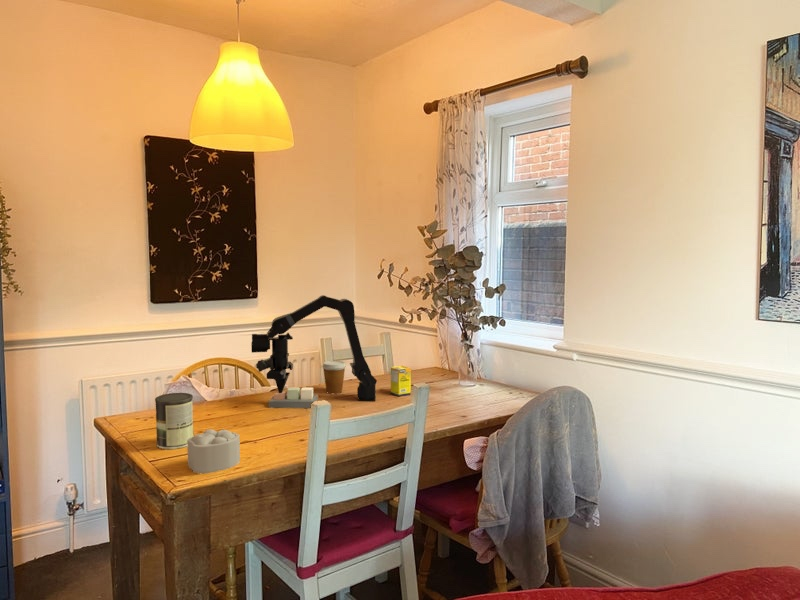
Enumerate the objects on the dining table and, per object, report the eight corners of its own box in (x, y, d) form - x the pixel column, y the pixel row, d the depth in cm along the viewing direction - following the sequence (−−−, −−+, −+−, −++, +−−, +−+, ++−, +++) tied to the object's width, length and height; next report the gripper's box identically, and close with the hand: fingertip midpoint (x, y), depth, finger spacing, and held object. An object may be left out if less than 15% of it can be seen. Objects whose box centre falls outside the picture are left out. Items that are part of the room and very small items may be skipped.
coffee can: (149, 448, 163) (147, 400, 162) (167, 437, 173) (166, 392, 172) (183, 450, 162) (182, 402, 161) (199, 438, 172) (198, 393, 171)
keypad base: (317, 400, 216) (317, 394, 216) (313, 408, 206) (313, 401, 206) (274, 400, 216) (274, 394, 216) (268, 407, 206) (268, 401, 206)
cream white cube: (313, 397, 213) (313, 387, 213) (311, 400, 209) (311, 390, 209) (302, 397, 213) (302, 387, 213) (300, 400, 209) (300, 390, 209)
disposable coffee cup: (348, 393, 228) (348, 364, 227) (325, 395, 224) (325, 365, 223) (342, 388, 237) (342, 360, 236) (320, 390, 233) (319, 361, 232)
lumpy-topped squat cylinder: (185, 463, 152) (184, 432, 151) (232, 453, 160) (232, 423, 159) (196, 476, 144) (196, 443, 143) (246, 465, 151) (245, 433, 150)
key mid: (300, 397, 213) (299, 387, 213) (298, 400, 209) (298, 390, 209) (289, 397, 213) (289, 387, 213) (287, 400, 209) (287, 389, 209)
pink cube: (286, 401, 213) (286, 391, 213) (284, 404, 209) (284, 394, 209) (276, 401, 213) (276, 391, 213) (273, 404, 209) (273, 394, 209)
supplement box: (411, 394, 227) (411, 367, 226) (398, 396, 223) (398, 369, 222) (402, 391, 232) (402, 365, 231) (390, 393, 228) (390, 366, 227)
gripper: (264, 347, 219) (264, 386, 220) (251, 356, 200) (252, 399, 202) (292, 347, 219) (293, 386, 220) (283, 356, 200) (283, 399, 202)
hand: (280, 392), depth 211 cm, fingers closed, pressing on pink cube
